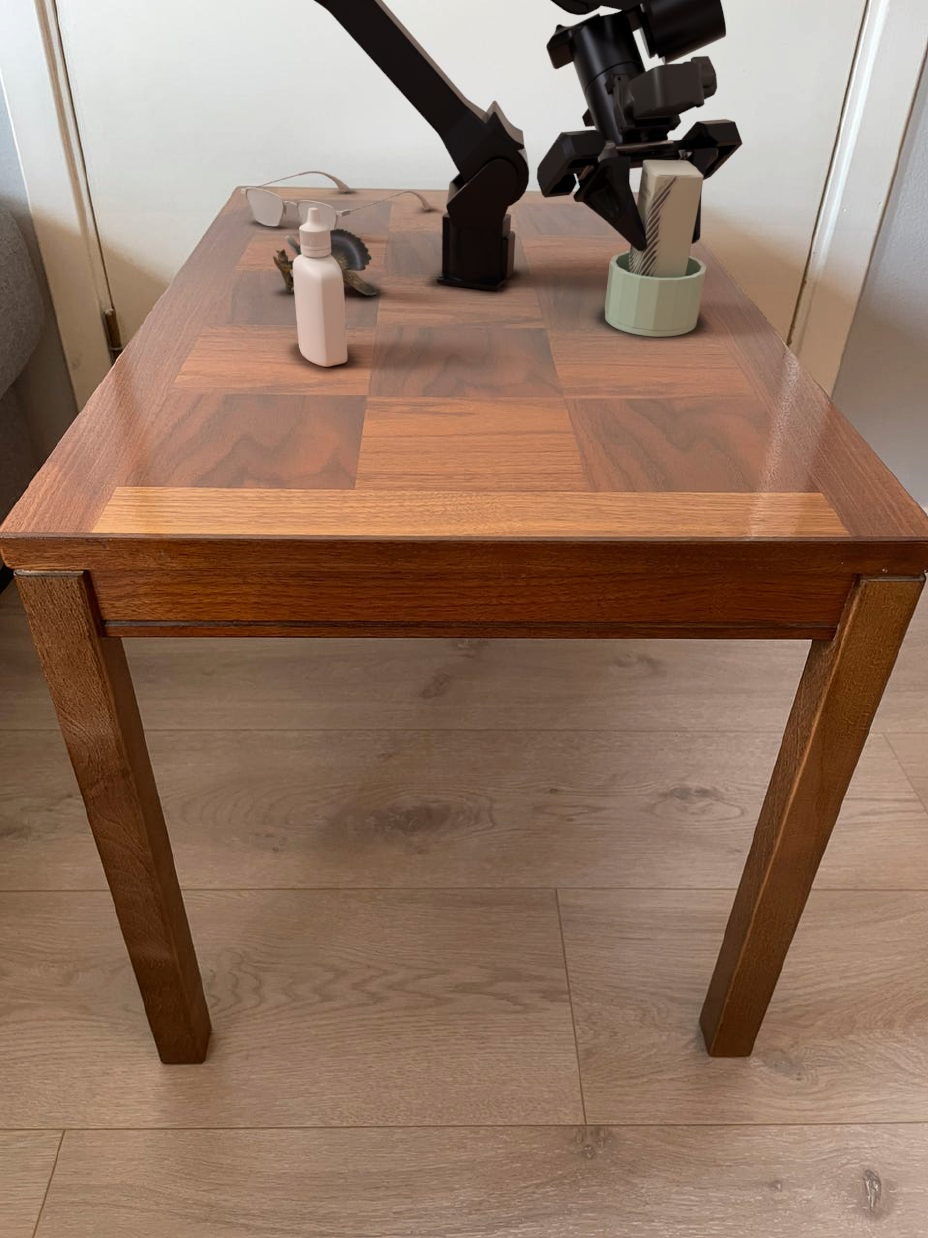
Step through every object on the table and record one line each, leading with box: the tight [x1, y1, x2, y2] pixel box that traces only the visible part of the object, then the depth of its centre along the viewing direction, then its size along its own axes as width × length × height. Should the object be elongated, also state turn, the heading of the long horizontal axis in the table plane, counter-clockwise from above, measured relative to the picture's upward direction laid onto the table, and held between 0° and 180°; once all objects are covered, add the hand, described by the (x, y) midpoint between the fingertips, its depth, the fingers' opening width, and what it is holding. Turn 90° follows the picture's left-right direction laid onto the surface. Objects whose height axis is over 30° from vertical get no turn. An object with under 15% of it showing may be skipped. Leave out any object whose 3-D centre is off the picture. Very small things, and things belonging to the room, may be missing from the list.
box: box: [627, 160, 704, 278], centre depth 88 cm, size 5×4×13 cm
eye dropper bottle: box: [292, 208, 349, 368], centre depth 80 cm, size 4×6×12 cm
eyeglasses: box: [240, 170, 432, 230], centre depth 116 cm, size 15×18×4 cm
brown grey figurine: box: [272, 228, 378, 296], centre depth 94 cm, size 8×7×9 cm
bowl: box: [604, 250, 708, 338], centre depth 90 cm, size 9×9×5 cm
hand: (669, 244), depth 87 cm, fingers closed on box, 5 cm apart
